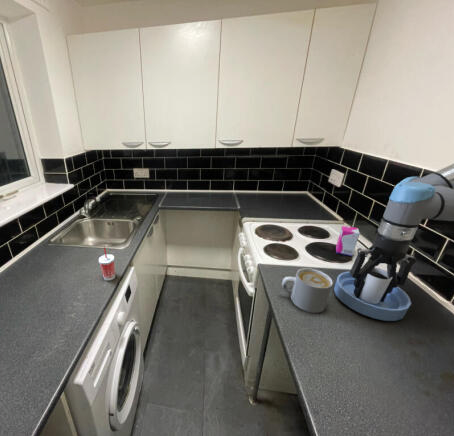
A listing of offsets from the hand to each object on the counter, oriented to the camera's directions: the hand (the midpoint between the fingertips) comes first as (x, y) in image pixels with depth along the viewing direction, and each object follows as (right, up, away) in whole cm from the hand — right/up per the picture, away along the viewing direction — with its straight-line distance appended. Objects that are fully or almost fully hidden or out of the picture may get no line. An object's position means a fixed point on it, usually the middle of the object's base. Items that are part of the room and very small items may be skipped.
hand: (368, 296), depth 76 cm
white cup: (0, 0, 0) cm, 0 cm away
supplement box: (+13, +11, +27) cm, 32 cm away
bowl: (0, -2, +1) cm, 2 cm away
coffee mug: (-21, -2, +2) cm, 21 cm away
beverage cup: (-90, +2, +18) cm, 92 cm away
